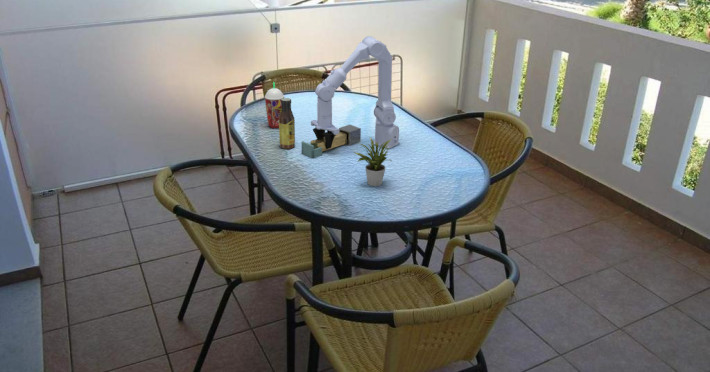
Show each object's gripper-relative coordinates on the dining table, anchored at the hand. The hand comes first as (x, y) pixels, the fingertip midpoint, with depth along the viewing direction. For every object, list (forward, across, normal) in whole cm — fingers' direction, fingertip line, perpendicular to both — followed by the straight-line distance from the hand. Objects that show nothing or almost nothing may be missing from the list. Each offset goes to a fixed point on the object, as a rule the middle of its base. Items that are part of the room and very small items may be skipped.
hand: (324, 146), depth 239 cm
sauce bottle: (+2, -13, -9) cm, 16 cm away
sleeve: (+1, 0, +14) cm, 14 cm away
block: (+1, 0, +2) cm, 2 cm away
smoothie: (+2, -35, +2) cm, 35 cm away
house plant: (+2, +35, -7) cm, 35 cm away
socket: (+1, 0, -7) cm, 7 cm away
